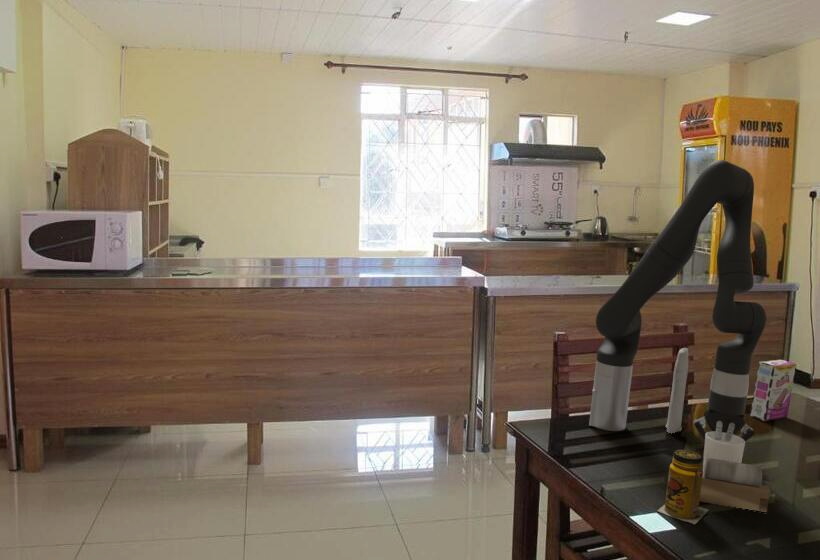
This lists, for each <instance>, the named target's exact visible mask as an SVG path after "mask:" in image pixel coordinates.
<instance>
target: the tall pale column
mask: <svg viewBox="0 0 820 560" xmlns="http://www.w3.org/2000/svg"><path fill="white" fill-rule="evenodd" d="M688 371H689V348H687V347H683V348H680V349H679V351H678V353H677V356H676V360H675V364H674V369H673V378H672V385H671V394H670V400H669V407H668V412H667V413H668V414H667V422H666V424H665V427H666V428H667V429H666V433H667V432H668V433H667V434H669V433H671V434H670V435H673V434H672V433H674V434H676V433H678V432H681V430H682V429H683V427H682V418H683V411H684V401H685V392H686V386H687V379H688ZM682 431H683V430H682ZM675 432H676V433H675Z"/></svg>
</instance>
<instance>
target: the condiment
mask: <svg viewBox="0 0 820 560" xmlns="http://www.w3.org/2000/svg"><path fill="white" fill-rule="evenodd" d="M671 460H672V462H671V463H670V465H669V469H668V477H667V484H666V485H667V486H666V493H665V494H666V495H665V499H664V500H665V501H664V504H663V505H662V506H661V507H659V508H658V509H657V510H656V512H659V513H661V514H664V515H666V516H669V517H671V518H674V519H678V520H680V521H683V522H688V523H690V524H692V525H696V524H697V523H698V522H699V521H700V520H701V519H702V518H703V517H704V516H705V515H706V514H707V512H708V511H709V509H708V508H704V507H701V506H700V501H699V499H700V492H701V484H702V477H703V460H704V458H703V456H702V455H701V454H700V453H697V452H695V451H692V450H688V449H687V450H686V449H677V450H675V451H674V452H673V454H672V459H671Z"/></svg>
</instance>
